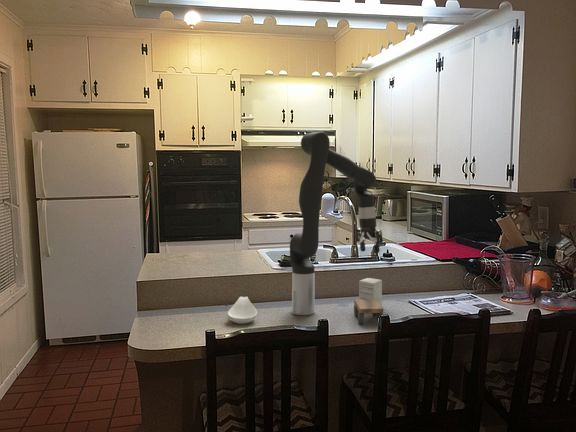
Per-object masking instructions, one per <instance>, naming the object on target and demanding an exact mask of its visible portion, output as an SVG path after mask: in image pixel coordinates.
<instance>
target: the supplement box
mask: <svg viewBox="0 0 576 432" xmlns="http://www.w3.org/2000/svg"><path fill="white" fill-rule="evenodd" d="M358 281H359V282H358V288H359V289H358V299H376V300H377V301H378V302H379V304H380V305H381V306H382V305H383V303H382V302H383V300H382V299H383V280H382V279H377V278H371V277H366V278H363V279H361V280H358ZM382 307H383V306H382Z"/></svg>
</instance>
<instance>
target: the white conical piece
mask: <svg viewBox="0 0 576 432" xmlns="http://www.w3.org/2000/svg"><path fill="white" fill-rule="evenodd" d="M226 314H227V317H228V318H229V320H230V322H233V323H234V324H235V323H236V324H239V325H240V324H242V325H243V324H244V325H245V324H249V323H251V322H253V321H254V320H255V319H256V317H257V315H258V311H257V309H256V307H255V306H254V304H252V302H251V300H250V299H249V297H248V296H239V297H238V299H237V300H236V301H235V303H234V304H233V305H231V307H230V309H229V310H228V311H227V313H226Z"/></svg>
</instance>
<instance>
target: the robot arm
mask: <svg viewBox="0 0 576 432" xmlns="http://www.w3.org/2000/svg"><path fill="white" fill-rule="evenodd" d="M300 145H301V146H300V147H301V149H302V150H303V152H304V153H306V154H307V155H309V156H310V162H309V165H308V166H309V167H308V169H307V171H306V173H305V175H304V177H303V179H302V181H301V183H300V188H299V193H298V194H299V196H298V203H299V204H298V205H299V209H300V213H301V216H302V232H298V233H296V234H294V235H292V237H291V239H290V241H289V260H290V266H291V268H292V269H291V270H292V271H291V272H292V279H291V281H292V282H291V283H292V289H291V297H292V298H291V302H292V303H291V304H292V306H291V311H292V315H297V316H310V315H311V316H312V315H314V314H315V309H316V307H315V279H316V278H315V275H316V274H315V265H314V264H313V263H312V261H311V260H310V258H312V257H313V256H315V255H316V253H317V252H318V249H319V231H320V230H319V228H320V227H319V225H320V214H321V205H322V198H323V197H322V196H323V186H324V178H325V171H326V170H325V169H326V166H327V165H328V166H329V167H331V168H333V169H335V170H336V171H338V173H341V174H342V175H343V176H345V177H346V178H347V179H349V180H353V181H352V183H353V184H352V185H353V188H354V190H355V193H356V196H357V201H358V222H359V224H358V225H359V228H356V229H355V238H356V239H355V241H356V242H357V243H359V248H360V252H366V243H365V241H366V240H370V241H371V242H372V243H373V251H374V254H379V253H380V245H381V244H383V242H384V241H383V233H382V230H381V229H377V228H376V227H377V215H376V207H375V197H374V194H373V193H371V192H369V191H368V189H372V188H373V187H375V185H376V183H377V177H376V175H375V174H374V173H373V172H372V171H371V170H369V169H366V168H364V167H362V166H360V165H358V164H357V163H355V162H354V161H353V160H352V159H350V158H349V157H347V156H345V155H343V154H341V153H338V152H336V151H335V150H332V149H330V145H331V143H330V138H329V136H328V134H327V133H326V132H324V131H315V132H308V133H305V134H304V135H303V136H302V137H301V141H300ZM326 164H327V165H326Z"/></svg>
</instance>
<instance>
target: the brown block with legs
mask: <svg viewBox="0 0 576 432" xmlns="http://www.w3.org/2000/svg"><path fill="white" fill-rule="evenodd" d="M353 299H354V298H353ZM353 304H354V305H353V314H354V315H353V316H354V317H355V318H357V321H358V325H364V324H365V314H372V317H376V322H377V324H378V318H379V316H380V315H383V316H384V307H383V306H381V305H380V304H379V302H378V301H377V300H376V299H359V298H356V299H354V300H353Z"/></svg>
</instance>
